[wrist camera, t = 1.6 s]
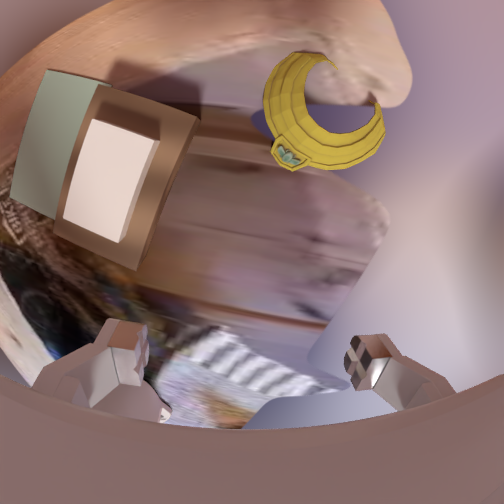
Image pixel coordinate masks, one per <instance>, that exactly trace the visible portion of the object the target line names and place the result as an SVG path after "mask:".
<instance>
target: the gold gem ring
mask: <svg viewBox="0 0 504 504" xmlns="http://www.w3.org/2000/svg"><path fill="white" fill-rule="evenodd" d="M324 61H328V62H329V63H331V64H332V65H333V66H334V67H335V68H336V69H337V67H336V66H335V65H334V64H333V63H332V62H330V61H329V60H328V59H327V58H326V57H325V56H324V55H322V54H313V53H297V52H293V53H291V54H290V55H289V56H287V57H286V58H285V59H283V60H282V61H281V62H280V63H278V64H277V65H276V66H275V67H274V69H273V71H272V72H271V74H270V76H269V78H268V80H267V82H266V85H265V91H264V97H263V105H264V111H265V117H266V122H267V124H268V126H269V128H270V130H271V132H272V133H273V136H274V137H275V142H274V144H273V146H272V149H271V151H270V152H271V153H272V155H273V156H274V158H275V159H276V161H277V162H278V164H279V165H280V166H282V167H284V168H286V169H289V170H291V171H295V170H297V169H300V168H302V167H305V166H307V165H309V166H312V167H316V168H320V169H324V170H335V169H346V168H348V167H350V166H353V165H355V164H358V163H360V162H362V161H363V160H365V159H366V158H368V157H370V156H371V155H373V154H375V152H376V151H377V149H378V147H379V146H380V144H381V142H382V140H383V138H384V136H385V126H384V122H383V116H382V112H381V107H380V104H378V103H376V102H375V103H373V102H371V101H370V100H369V102H370V103H372V104H375V115H374V116H373V117H372V118H371V120H370V121H369V123H368V124H366V125H364V126H363V127H361V128H359V129H357V130H355V131H352V132H350V133H330V132H328V131H327V130H325V129H324V128H322V127H320V126H319V125H318V124H317V123H316V122H315V121H314V120H313V119H312V118H311V116H310V115H309V113H308V110H307V107H306V103H305V97H304V88H305V81H306V77H307V74H308V72H309V71H310V69H311V68H312V67H313V66H314V65H315V64H316V63H319V62H324ZM337 70H338V69H337Z"/></svg>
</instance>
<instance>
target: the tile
mask: <svg viewBox="0 0 504 504" xmlns="http://www.w3.org/2000/svg"><path fill="white" fill-rule="evenodd" d="M159 143H160V141H159V140H156V139H154V138H151V137H148V136H146V135H143V134H140V133H138V132H135V131H132V130H129V129H127V128H124V127H121V126H118V125H115V124H112V123H109V122H106V121H104V120H99V119H92V121H91V123H90V126H89V128H88V131H87V134H86V137H85V139H84V142H83V145H82V148H81V151H80V154H79V157H78V161H77V164H76V167H75V171H74V174H73V178H72V181H71V185H70V189H69V193H68V197H67V201H66V206H65V210H64V215H63V218H64V219H66V220H68V221H70V222H72V223H74V224H76V225H79V226H81V227H83V228H85V229H87V230H90V231H92V232H94V233H96V234H98V235H101V236H103V237H105V238H107V239H110V240H112V241H114V242H117V243H119V242H120V241H121V240H122V239H123V238H124V237H125V236H126V232H127V229H128V226H129V223H130V220H131V217H132V214H133V211H134V208H135V205H136V202H137V199H138V196H139V193H140V191H141V188H142V185H143V182H144V180H145V177H146V175H147V172H148V169H149V167H150V164H151V162H152V159H153V157H154V155H155V152H156V150H157V147H158V145H159Z"/></svg>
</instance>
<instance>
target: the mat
mask: <svg viewBox="0 0 504 504" xmlns="http://www.w3.org/2000/svg"><path fill="white" fill-rule="evenodd" d="M98 84H101V85H104V86H108V87H112V85H110V84H107V83H103V82H99V81H95V80H91V79H87V78H83V77H79V76H75V75H70V74H65V73H61V72H56V71H50V70H46V73H45V75H44V77H43V79H42V82H41V84H40V87H39V89H38V92H37V94H36V97H35V99H34V102H33V105H32V108H31V111H30V114H29V117H28V120H27V123H26V126H25V129H24V133H23V136H22V140H21V144H20V147H19V151H18V156H17V160H16V164H15V169H14V174H13V179H12V185H11V191H10V198H12V199H14V200H16V201H18V202H20V203H21V204H23V205H25V206H27V207H29V208H31V209H33V210H35V211H37V212H39V213H41V214H43V215H45V216H47V217H49V218H51V219H54V220H55V217H56V212H57V207H58V202H59V197H60V193H61V189H62V185H63V181H64V177H65V173H66V170H67V166H68V163H69V159H70V156H71V153H72V150H73V147H74V144H75V141H76V138H77V135H78V132H79V129H80V126H81V124H82V121H83V119H84V116H85V113H86V111H87V109H88V106H89V104H90V101H91V99H92V97H93V94H94V92H95V90H96V88H97V86H98Z"/></svg>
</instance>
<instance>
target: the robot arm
mask: <svg viewBox="0 0 504 504" xmlns="http://www.w3.org/2000/svg"><path fill="white" fill-rule="evenodd" d="M146 336H147V326H146V324H141V323H135V322H129V321H124V320H118V319H112V318H109V319H107V320H106V322H105V324H104V325H103V327H102V329H101V331H100V332H99V334H98V336H97V338H96V340H95V341H94V343H93V344H92V343H89V344H87V345H85V346H83V347H81V348H79V349H77V350H76V351H74V352H72V353H70V354H68V355H66V356H64V357H62V358H60V359H58V360H56V361H54V362H52V363H50V364H49V365H47V366H45V367H43V369H42V371H41V372H40V374H39V376H38V377H37V379H36V381H35V382H34V384H33V386H32V388H29V387H26V386H24V385H22V384H19V383H17V382H15V381H13V380H11V379H8V378H6V377H4V376H2V375H0V504H504V374H502V375H498V376H496V377H494V378H492V379H490V380H488V381H486V382H483V383H481V384H479V385H476V386H474V387H472V388H469V389H467V390H464V391H462V392H459V393H456V392H455V390H454V389H453V388H452V387H451V385H450V384H449V383H448V381H447V380H446V378H445V377H443V376H441V375H439V374H438V373H436V372H434V371H432V370H430V369H428V368H427V367H425V366H423V365H421V364H419V363H418V362H416V361H414V360H412V359H410V358H408V357H407V356H402V355H401V353H400V352H399V350H398V349H397V348H396V346H395V345H394V344H393V342H392V341H391V340H390V338H389V337H388V336H387V335H386V334H375V335H356V336H354V337H353V338H352V340H351V342H350V344H351V348H350V349H349V350H348V351H347V352H346V354H345V357H344V367H345V370H346V372H347V373H348V374H350V375H351V376H352V377H351V382H352V384H353V386H354V388H355V390H356V391H360V390H369V389H373V391H374V392H376V393H377V394H378V395H379V396H380V397H382V398H383V399H384V400H385V401H386V402H388V403H389V404H390V405H391V406H392V407H394V408H395V409H396V410H398V412H394V413H390V414H386V415H381V416H376V417H372V418H366V419H361V420H355V421H349V422H343V423H337V424H329V425H321V426H311V427H301V428H300V427H299V428H284V429H216V428H201V427H189V426H180V425H172V424H164V422H165V421H167V420H168V419H169V418H170V417H171V414H172V409H171V408H170V407H168V406H167V405H166V404H165V403H163V402H162V401H161V400H160V399H159V397H158V395H157V393H156V392H155V391H154V389H153V388H152V387H151V386H150V385H149V384H148V383H147V382H145V381H144V380H143V376H144V369H143V368H144V367H145V366H147V362H148V356H149V343H148V341H147V340H146Z"/></svg>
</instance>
